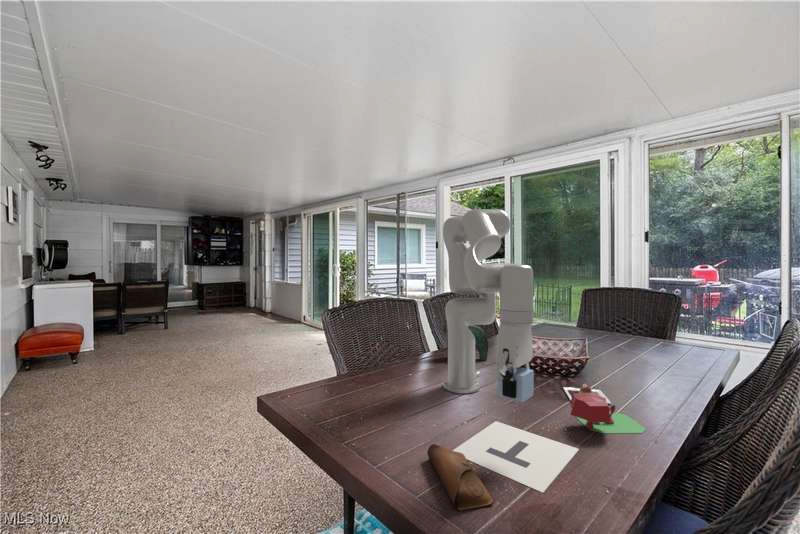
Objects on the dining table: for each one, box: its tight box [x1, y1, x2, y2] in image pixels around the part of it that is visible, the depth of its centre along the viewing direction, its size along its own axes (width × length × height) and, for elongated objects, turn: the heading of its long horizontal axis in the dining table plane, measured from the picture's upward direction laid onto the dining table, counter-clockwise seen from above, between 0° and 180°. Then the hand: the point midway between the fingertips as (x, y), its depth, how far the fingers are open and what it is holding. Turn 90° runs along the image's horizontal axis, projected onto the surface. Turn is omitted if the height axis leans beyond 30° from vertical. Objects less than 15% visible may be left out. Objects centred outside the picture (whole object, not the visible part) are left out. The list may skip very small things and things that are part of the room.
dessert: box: [562, 383, 612, 405], centre depth 121 cm, size 12×12×5 cm
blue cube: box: [497, 364, 535, 403], centre depth 87 cm, size 6×6×6 cm
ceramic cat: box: [442, 320, 489, 362], centre depth 166 cm, size 20×6×20 cm, turn 80°
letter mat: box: [452, 420, 580, 494], centre depth 87 cm, size 22×22×1 cm
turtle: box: [570, 392, 647, 435], centre depth 101 cm, size 15×20×9 cm
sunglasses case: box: [427, 443, 494, 511], centre depth 76 cm, size 18×7×7 cm
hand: (515, 392), depth 87 cm, fingers closed on blue cube, 6 cm apart
